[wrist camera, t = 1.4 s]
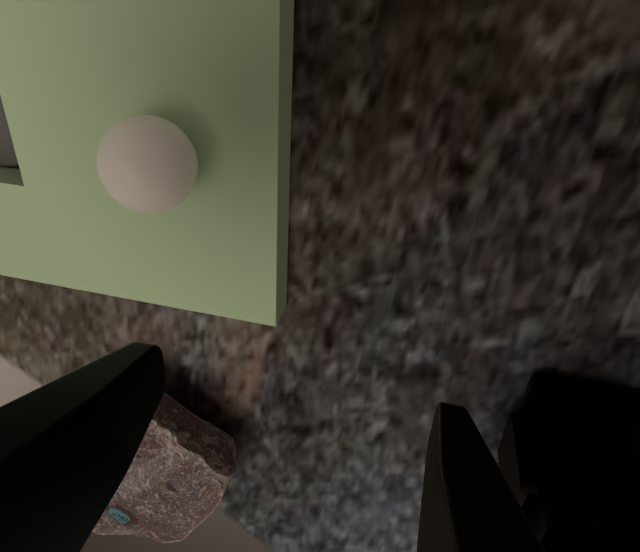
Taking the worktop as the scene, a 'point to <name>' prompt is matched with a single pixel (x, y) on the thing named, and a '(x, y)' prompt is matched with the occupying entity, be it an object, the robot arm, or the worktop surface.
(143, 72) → the board
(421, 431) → the worktop surface
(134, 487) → the rock
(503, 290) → the worktop surface
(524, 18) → the worktop surface
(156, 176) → the ball
